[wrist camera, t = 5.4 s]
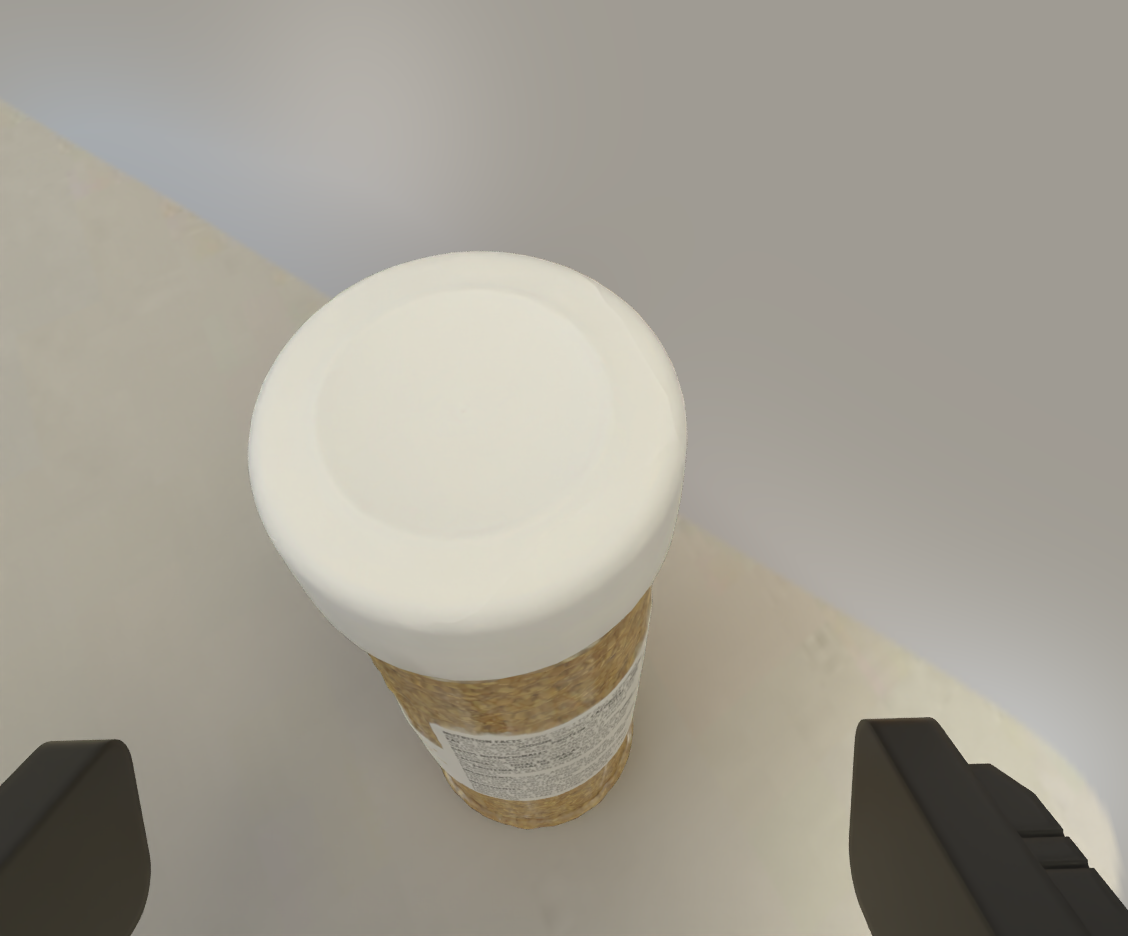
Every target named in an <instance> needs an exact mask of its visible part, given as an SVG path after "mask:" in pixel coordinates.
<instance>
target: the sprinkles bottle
mask: <svg viewBox="0 0 1128 936" xmlns="http://www.w3.org/2000/svg"><path fill="white" fill-rule="evenodd" d="M686 452H687V418H686V409H685V402H684V398H683V394H682V391H681V387H680V384H679V380H678V377H677V374H676V372H675V369H674V366H673V364H672V362H671V360H670V358H669V356H668V354H667V352H666V350H665V349H664V347H663V346H662V344H661V342H660V341H659V339H658V338H657V336H656V334H655V333H654V332H653V331H652V329H651V328H650V327H649V326H648V325H647V323H646V322H645V321H644V320H643V319H642V317H641V316H640V315H639V314H638V313H637V312H636V311H635V310H634V309H633V308H632V307H631V306H630V305H628V304H627V303H626V302H625V301H624V300H623V299H621V298H620V297H618V296H617V295H616V294H615V293H613V292H612V291H611V290H609V289H608V288H606V287H604V286H603V285H601V284H600V283H598V282H597V281H595V280H594V279H592V278H590V277H588V276H585V275H583V274H581V273H579V272H577V271H575V270H573V269H571V268H569V267H566V266H563V265H560V264H557V263H553V262H551V261H547V260H544V259H540V258H536V257H532V256H527V255H520V254H514V253H506V252H496V251H467V252H454V253H447V254H441V255H435V256H430V257H424V258H420V259H417V260H414V261H409V262H406V263H403V264H400V265H396V266H394V267H390V268H387V269H385V270H383V271H380V272H378V273H376V274H373V275H371V276H369V277H367V278H365V279H363V280H361V281H359V282H358V283H356V284H354V285H352V286H351V287H349V288H347V289H346V290H344V291H342V292H341V293H339V294H338V295H337V296H336V297H334V298H333V299H332V300H330V301H329V302H328V303H327V304H325V305H324V306H323V307H321V308H320V309H319V310H318V311H317V312H315V313H314V314H313V315H312V316H311V317H310V318H309V319H308V320H307V321H306V322H305V323H304V324H303V325H302V326H301V327H300V328H299V329H298V330H297V332H296V333H295V334H294V335H293V336H292V337H291V338H290V340H289V341H288V342H287V344H286V345H285V346H284V348H283V349H282V350H281V352H280V353H279V355H278V357H277V358H276V360H275V362H274V363H273V365H272V366H271V368H270V370H269V372H268V374H267V376H266V378H265V380H264V382H263V384H262V388H261V390H260V393H259V395H258V398H257V400H256V404H255V408H254V411H253V414H252V418H251V427H250V435H249V443H248V470H249V477H250V483H251V488H252V492H253V496H254V500H255V505H256V508H257V510H258V513H259V515H260V518H261V520H262V523H263V525H264V527H265V529H266V531H267V534H268V535H269V537H270V539H271V541H272V543H273V544H274V546H275V548H276V549H277V551H278V553H279V554H280V556H281V557H282V559H283V560H284V562H285V563H286V565H287V566H288V568H289V569H290V571H291V573H292V574H293V575H294V577H295V578H296V579H297V581H298V582H299V584H300V585H301V586H302V588H303V589H304V590H305V592H306V593H307V595H308V596H309V597H310V599H311V600H312V601H313V603H314V604H315V606H316V607H317V608H318V609H319V610H320V612H321V613H322V614H323V615H324V617H325V618H326V619H327V620H328V621H329V623H330V624H331V625H333V626H334V627H335V628H336V629H337V630H338V631H340V632H341V633H342V634H343V635H344V636H346V637H347V638H348V639H349V640H350V641H352V642H353V643H354V644H355V645H357V646H358V647H359V648H360V649H362V650H363V651H365V652H367V653H368V654H369V655H370V657H371V658H372V661H373V663H374V665H375V666H376V667H377V669H378V670H379V671H380V672H381V674H382V676H383V678H384V681H385V683H386V685H387V686H388V688H389V689H390V690H391V691H392V692H393V693H394V695H395V697H396V699H397V701H398V704H399V706H400V708H401V710H402V712H403V714H404V716H405V718H406V719H407V721H408V722H409V724H410V725H411V727H412V728H413V729H414V730H415V732H416V733H417V735H418V736H419V738H420V739H421V741H422V742H423V743H424V745H425V746H426V748H427V749H428V751H429V752H430V753H431V755H432V756H433V757H434V758H435V760H436V761H437V762H438V764H439V765H440V766H441V768H442V770H443V773H444V775H445V777H446V779H447V781H448V783H449V784H450V786H451V787H452V789H453V790H454V791H455V792H456V793H457V794H458V795H459V796H460V797H461V798H462V799H463V800H464V801H465V802H466V803H467V804H468V805H469V806H470V807H471V808H473V809H474V810H476V811H478V812H480V813H481V814H482V815H484V816H485V817H488V818H490V819H492V820H495V821H497V822H501V823H504V824H507V825H512V826H515V827H518V828H523V829H533V828H539V827H547V826H555V825H559V824H562V823H565V822H567V821H570V820H573V819H576V818H578V817H579V816H581V815H582V814H584V813H585V812H586V811H588V810H590V809H592V808H593V807H594V806H596V805H597V804H598V803H600V802H601V801H602V799H603V798H604V797H605V795H606V794H607V792H608V791H609V790H610V789H611V788H612V787H613V785H614V784H615V783H616V781H617V780H618V778H619V777H620V775H621V773H622V771H623V768H624V766H625V764H626V762H627V759H628V757H629V752H630V748H631V743H632V736H633V718H632V717H633V712H634V708H635V703H636V698H637V693H638V688H639V683H640V677H641V672H642V666H643V661H644V656H645V649H646V643H647V637H648V631H649V624H650V618H651V610H652V602H653V600H652V587H651V584H652V583H653V581H654V579H655V577H656V575H657V574H658V572H659V570H660V568H661V566H662V564H663V562H664V560H665V557H666V555H667V552H668V550H669V547H670V544H671V542H672V538H673V533H674V529H675V525H676V521H677V516H678V511H679V506H680V501H681V495H682V487H683V479H684V472H685V463H686Z"/></svg>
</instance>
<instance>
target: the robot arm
mask: <svg viewBox="0 0 1128 936" xmlns="http://www.w3.org/2000/svg"><path fill="white" fill-rule="evenodd" d="M849 858H850V867H851V874H852V879H853V884H854V889H855V893H856V896H857V899H858V902H859V905H860V908H861V910H862V912H863V915H864V917H865V919H866V922H867V924H868V927H869V929H870V931H871V934H872V936H1128V910H1127V909H1126V907H1125V906H1124V905H1123V904H1122V902H1121V901H1120V900H1119V899H1118V897H1117V896H1116V895H1115V894H1114V892H1113V891H1112V890H1111V889H1110V887H1109V886H1108V885H1107V884H1106V882H1105V881H1104V880H1103V879H1102V877H1101V876H1100V875H1099V874H1098V872H1097V871H1096V870H1095V869H1094V868H1089V866H1088V860H1087V859H1086V857H1085V856H1084V855H1083V854H1082V852H1081V851H1080V850H1079V849H1078V847H1077V846H1076V845H1075V844H1074V842H1073V841H1072V840H1071V839H1070V837H1065V836H1064V834H1063V829H1062V827H1061V826H1060V825H1059V824H1058V822H1057V821H1056V820H1055V819H1054V817H1053V816H1052V815H1051V814H1050V812H1049V811H1048V810H1047V809H1046V807H1045V806H1044V805H1043V804H1042V802H1041V801H1040V800H1039V799H1038V797H1037V796H1036V795H1035V794H1034V793H1033V792H1032V791H1030V790H1029V789H1027V788H1026V787H1024V786H1023V785H1021V784H1020V783H1018V782H1017V781H1015V780H1014V779H1012V778H1011V777H1009V776H1008V775H1006V774H1005V773H1003V772H1002V771H1000V770H999V769H997V768H996V767H994V766H993V765H991V764H968V763H967V762H966V760H965V759H964V758H963V756H962V755H961V753H960V752H959V751H958V749H957V748H956V747H955V745H954V744H953V742H952V741H951V740H950V738H949V737H948V736H947V734H946V733H945V731H944V730H943V729H942V727H941V726H940V725H939V723H938V722H937V721H936V720H935V719H933V718H930V717H925V718H891V719H863V720H861V721H860V722H859V724H858V726H857V729H856V735H855V745H854V762H853V779H852V796H851V813H850V830H849ZM150 876H151V862H150V854H149V849H148V844H147V838H146V833H145V827H144V822H143V817H142V811H141V806H140V800H139V795H138V789H137V784H136V779H135V773H134V768H133V762H132V758H131V754H130V752H129V749H128V748H127V746H126V745H125V744H124V743H123V742H122V741H120V740H116V739H111V740H77V741H50V742H46V743H44V744H42V745H41V746H39V747H38V748H37V749H36V750H35V751H34V752H33V753H32V754H31V755H30V756H29V757H28V758H27V759H26V760H25V761H24V762H23V763H22V764H21V765H20V766H19V767H18V768H17V769H16V771H15V772H14V773H13V774H12V775H11V776H10V777H9V778H8V779H7V780H6V781H5V782H4V783H3V784H2V785H1V786H0V936H130V935H131V934H132V932H133V930H134V929H135V927H136V925H137V923H138V922H139V920H140V918H141V915H142V913H143V910H144V907H145V904H146V901H147V897H148V892H149V886H150Z"/></svg>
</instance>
